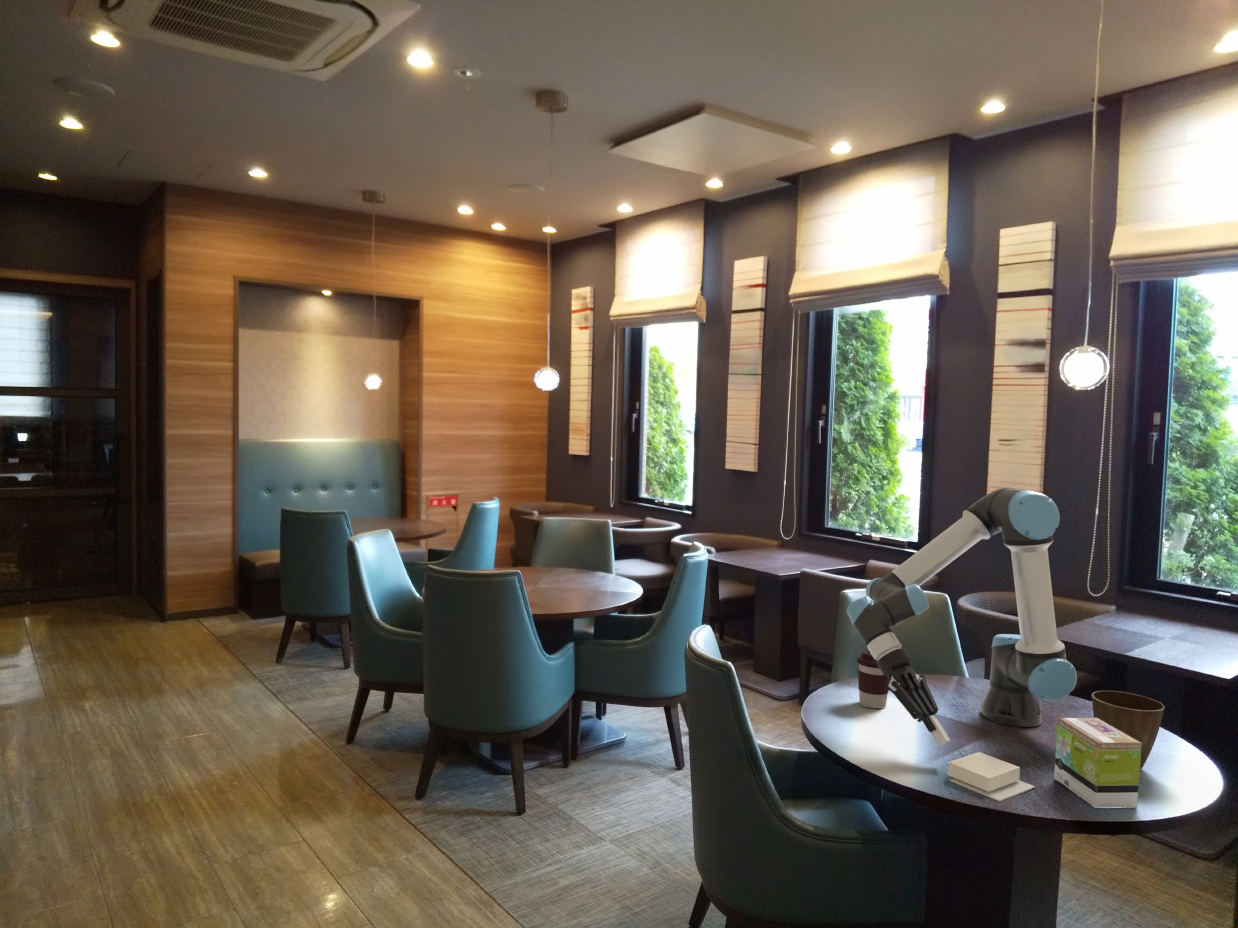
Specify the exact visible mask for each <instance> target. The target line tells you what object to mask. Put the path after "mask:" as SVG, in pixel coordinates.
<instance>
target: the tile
mask: <svg viewBox="0 0 1238 928" xmlns="http://www.w3.org/2000/svg"><path fill="white" fill-rule="evenodd" d="M1020 773H1021V767H1020V766H1017V765H1015V764H1012V763H1009V762H1007V761H1004V760H1002V759H999V758H996V757H994V756H991V755H988V754H985V753H984V752H980V751H978V752H975V753H972V754H969V755H965V756H963V757H960V758H956V759H953V760H949V761H948V765H947V776H950V777H952V778H956V779H958V780H961V781H963V782H965V783H968V784H970V785H973V786H975V787H977V788H980V789H982V790H985V791H988V792H990V791H992V790H995V789H998V788H1000V787H1003V786H1006V785H1008V784H1011V783H1014V782H1016V781H1019V780H1020V775H1021V774H1020Z"/></svg>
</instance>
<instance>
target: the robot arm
mask: <svg viewBox="0 0 1238 928" xmlns="http://www.w3.org/2000/svg"><path fill="white" fill-rule="evenodd" d="M1060 520H1061V518H1060V510H1059V509H1058V506H1057V504H1056V503H1055V502H1054V500H1053V499H1052V498H1050V497H1049V496H1048V495H1046V494H1044V493H1041V492H1038V491H1035V490H1028V489H1019V488H1013V487H1002V488H997V489H995V490H993V491H991V492H989V493H988V494H986V495H984V496H983V497H980V499H978V500H977V501H976V502H974V503H972V504H971V505H970V506H969V507H968V508H966V509H965V510H963V511H962V517H961V518H959V519H958V520H956V522H954V523H953V524H951V525H950V526H949V527H948V528H947V529H945V530H944V531H943V532H941V533H940V534H939V535H938V536H936V537H935V538H933V539H932V540H931V541H929V542H928V543H927V544H926V545H924V546H923V547H922V548H921V549H919V550H918V551H916V552H915V553H914V554H913V555H911V556H910V557H909V558H908V559H906V560H905V561H904V562H902V563H901V564H900V565H898V566H897V567H896V568H894V569H893V570H892V571H890V572H889V573H888V574H886V575H885V576H884V577H875V578H873V579H872V580H871V579H870V581H869V582H868V583H867V585H866V586H865V587H866V588H865V595H866V596H863V597H860V598H857V599H855V600H854V601H852V602H851V603H850V604H849V605H848V606H847V608H846V614H847V616H848V618H849V620H850V622H851V624H852V627H853V628H854V629H855V630H856V632H857V633H858V636H859V637H860V639H861V641H863V643H864V644H865V646H866V648H867V650H869V651H870V653H871V654H872V656H873V658H874V659H875V661H878V662H877V665H878V666H879V668H880V670H881V671H882V673H883V674H884V675H885V676H888V677H889V680H890V684H889V685H887V689H888V690H889V692H890V693H891V694H893V695H894V697H895V698H896V700H898V701H899V703H900V704H901V705H902V706H903V707H904V709H905V710H906V711H907V712H908V713H909V715H910V716H911V717H912V719H913V720H915V721H916V720H917V723H921V722H922V723H923V724H924V726H925V728H926V729H927V731H928V732H929V733H930V735H931V736H932V738H933V740H934V741H935V742H936V744H937V746H938V747H940V746H943V745H945V744H946V743H948V742H949V741H951V739H950V736H949V735H948V734H947V732H946V731H945V730H944V727H943V725H942V723H941V722H940V721H939V719H938V717H937V715H936V714H938V713H939V707H938V705H937V702H936V701H935V698H934V696H933V694H932V692H931V689H930V687H929V685H928V683H927V678H926V675H925V674H924V673H922V674H920V675H919V674H917V672H916V671H915V670H914V669H913V668H912V667H911V659H910V657H909V656H908V654H907V652H906V651H905V649H904V648H902V644H901V642H900V641H899V640H898V638H897V636H896V634H895V633H894V632H893V630H892V628H894V627H896V626H898V625H900V624H902V623H905V622H906V621H908V620H910V619H912V618H914V617H918V616H919V615H920V614H922V613H924V612H925V611H928V609H929V608H930V604H929V603H930V602H929V600H928V597H927V595H926V593H925V592H924V590H923V589H922V588H921V587H920V586H922V585H923V584H924V583H925V582H927V581H929V580H930V579H931V578H932V577H934V576H935V575H937V574H938V573H939V572H940V571H942V570H943V569H944V568H946V566H947V567H948V565H950V564H951V563H952V562H954V561H955V560H956V559H957V558H958V557H960V556H961V555H963V554H964V553H965V552H967V551H968V550H969V549H970V548H972V547H973V546H974V545H976V544H977V543H978V542H980V541H981V540H989V539H990V538H991V537H993V536H995V535H997V534H998V533H1002V541H1003V542H1002V543H1003V545H1004V546H1005V547H1006V548H1007V549H1009V550H1010V555H1011V564H1012V574H1013V583H1014V584H1013V585H1014V589H1015V593H1014V594H1015V598H1016V599H1015V600H1016V607H1017V616H1018V617H1017V618H1018V626H1019V627H1018V628H1019V634H1014V633H1013V634H1009V633H1007V634H1006V633H999V634H996V635H994V637H993V638H992V644H991V659H990V676H989V688H988V689H987V691H986V694H985V697H984V698H983V702H982V703H981V711H980V713H981V715H982V716H983V717H984V718H985V719H988V720H990V721H993V722H995V723H999V724H1001V725H1002V724H1003V725H1006V726H1012V727H1022V728H1032V727H1037V726H1040V725H1041V724H1042V719H1043V718H1042V710H1041V708H1040V705H1039V704H1040V703H1039V700H1038V699H1041V700H1042V701H1043V700H1044V701H1047V702H1059V701H1060V700H1063V699H1065V698H1067V697H1068V696H1069V695H1070V694H1071V692H1073V690H1074V689H1075V687H1076V685H1077V679H1078V675H1077V671H1076V668H1075V666H1073V664H1072V663H1071V662H1070V661H1069V660H1067V655H1066V646H1065V644H1064V642H1062V641H1061V640H1060V639H1059V638H1058V634H1057V633H1058V632H1057V623H1056V614H1055V606H1054V596H1053V588H1052V579H1051V569H1050V568H1051V567H1050V560H1049V547H1050V546H1051V545H1052V543H1053V542H1054V536H1053V535H1054V533H1055V532H1056V530H1057V528H1058V527H1059V525H1060Z"/></svg>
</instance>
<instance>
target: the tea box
mask: <svg viewBox="0 0 1238 928" xmlns="http://www.w3.org/2000/svg"><path fill="white" fill-rule="evenodd" d="M1056 726H1057V727H1056V740H1055V741H1056V743H1055V757H1054V758H1055V761H1054V775H1053V777H1054V778H1053V779H1054V780H1055V781H1057V782H1059V783H1060V784H1062V785H1063V786H1065V787H1066V788H1067V789H1069V790H1070V791H1071V792H1072V793H1073V794H1075V795H1076V794H1077V795H1076V796H1078V798H1080V797H1081V798H1080V799H1082V798H1083V799H1084V800H1085V801H1087V802H1089V803H1090V804H1092V805H1093V806H1095V807H1122V808H1124V807H1125V808H1133V809H1137V808H1138V799H1139V791H1140V789H1139V787H1140V784H1139V783H1140V776H1141V775H1140V772H1141V771H1140V761H1141V746H1142V743H1141V742H1139V741H1137V740H1135V739H1134V738H1132V737H1130V736H1128V735H1127V734H1125V733H1123V732H1121V731H1120V730H1118V729H1116V728H1114V727H1113V726H1111V725H1109V724H1107V723H1106V722H1104V721H1102V720H1100V719H1099V718H1094V717H1057V724H1056ZM1083 799H1082V800H1083ZM1084 800H1083V801H1084ZM1085 801H1084V802H1085ZM1087 802H1086V803H1087ZM1134 807H1135V808H1134Z"/></svg>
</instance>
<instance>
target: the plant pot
mask: <svg viewBox="0 0 1238 928" xmlns="http://www.w3.org/2000/svg"><path fill="white" fill-rule="evenodd" d="M1091 703H1092V713H1093V718H1099V719H1100V720H1102V721H1104V722H1106V723H1107V724H1109V725H1111V726H1113V727H1114V728H1116V729H1118V730H1120V731H1121V732H1123V733H1125V734H1127V735H1128V736H1130V737H1132V738H1134V739H1135V740H1137V741H1139V742H1141V743H1142V746H1141V761H1140V769H1141V770H1142V769H1143V767H1144V766H1145V765H1146V762H1147V761H1148V758H1149V756H1150V754H1151V752H1152V750H1153V747H1154V744H1155V743H1156V739H1157V736H1158V733H1159V730H1160V728H1161V727H1160V726H1161V724H1162V719H1163V717H1164V712H1165V705H1164V704H1163V703H1162V702H1160V701H1158V700H1156V699H1154V698H1150V697H1147V696H1144V695H1140V694H1136V693H1131V692H1126V691H1125V692H1124V691H1116V690H1097V691H1094V692H1092V693H1091Z"/></svg>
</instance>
